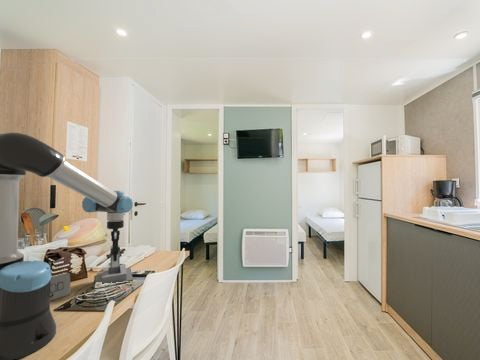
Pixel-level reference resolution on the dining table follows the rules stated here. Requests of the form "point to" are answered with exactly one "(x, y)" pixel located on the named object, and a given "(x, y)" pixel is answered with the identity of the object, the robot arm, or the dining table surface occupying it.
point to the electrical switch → (60, 286)
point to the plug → (118, 256)
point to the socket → (114, 274)
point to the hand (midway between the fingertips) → (114, 265)
